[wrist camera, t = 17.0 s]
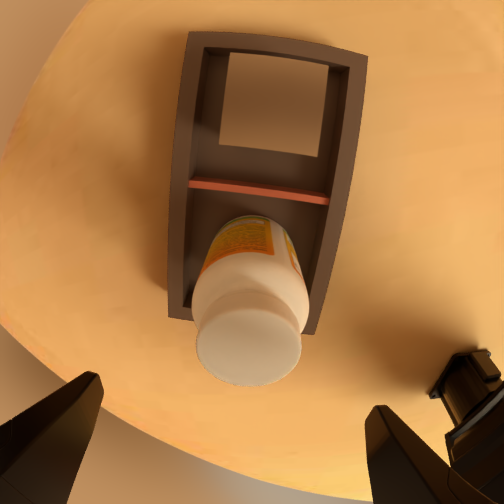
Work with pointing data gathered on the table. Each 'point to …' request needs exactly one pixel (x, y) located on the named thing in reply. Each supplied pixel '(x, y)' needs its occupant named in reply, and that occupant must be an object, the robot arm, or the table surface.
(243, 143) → the walnut block
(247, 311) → the supplement bottle
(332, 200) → the tray
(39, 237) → the table surface
